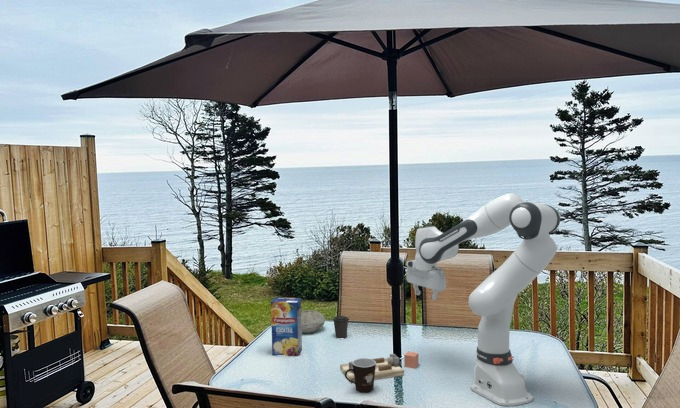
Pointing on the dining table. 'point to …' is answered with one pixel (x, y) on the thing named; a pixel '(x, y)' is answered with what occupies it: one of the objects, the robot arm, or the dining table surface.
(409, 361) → the reddish orange block
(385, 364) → the shaft bench
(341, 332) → the coffee cup
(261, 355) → the dining table surface
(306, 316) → the grey rock
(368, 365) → the coffee mug
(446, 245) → the robot arm
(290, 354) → the juice carton
